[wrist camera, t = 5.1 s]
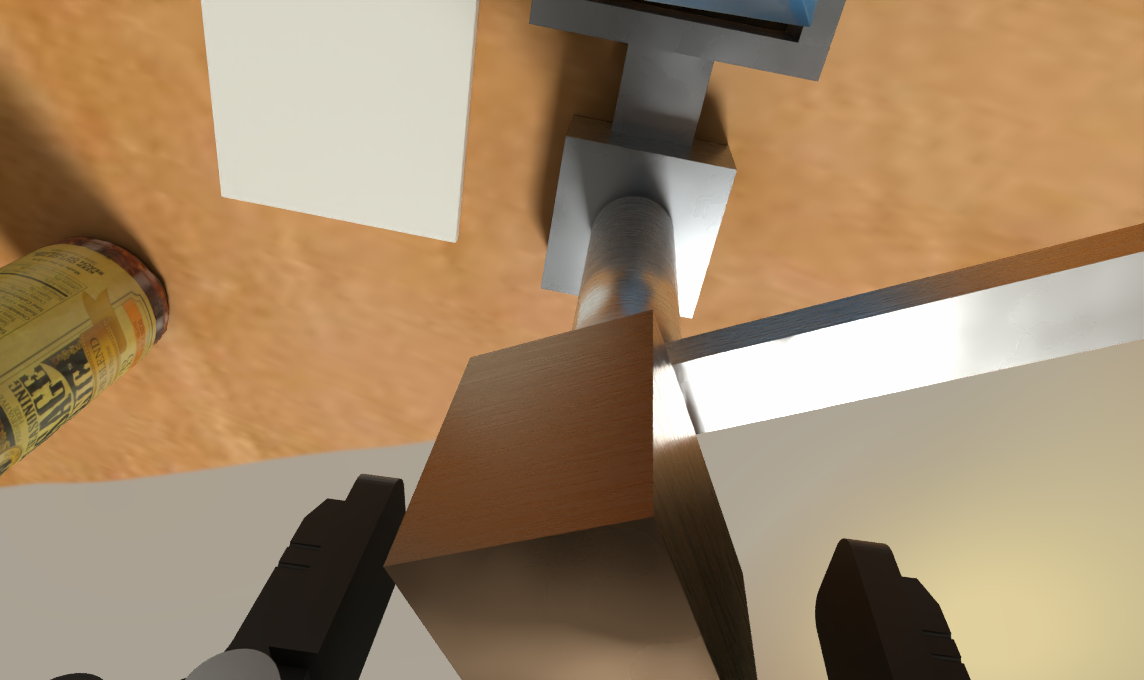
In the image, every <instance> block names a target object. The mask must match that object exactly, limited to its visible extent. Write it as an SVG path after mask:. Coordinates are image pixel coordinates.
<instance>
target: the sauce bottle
mask: <svg viewBox="0 0 1144 680" xmlns="http://www.w3.org/2000/svg"><path fill="white" fill-rule="evenodd" d="M166 298H167V296H166V293H165V289H164V287H163V285H162V284H161V282H160V281H159V279H158V278H157V277H156V276H155V275H154V274H153V273H151V272H150V271H149V269H148V268H147V267H146V266H145V265H144V264H143V263H142V262H141V261H140V260H139V259H138V258H137V257H136V256H135V255H133V254H131V253H129V252H128V251H126V250H125V249H123V248H121V247H120V246H117V245H115V244H112V243H110V242H106V241H103V240H102V241H101V240H98V239H96V238H92V239H91V238H86V237H72V238H65V239H63V240H61V241H60V242H59V243H57V244H55V245H50V246H46V247H43V248H40V249H38V250H36V251H34V252H32V253H30V254H28V255H26V256H24V257H22V258H20V259H18V260H16V261H14V262H12V263H10V264H8V265H6V266H3V267H1V268H0V476H1V475H3V474H4V473H5V472H6V471H7V470H9V469H10V468H11V467H12V466H14V465H15V464H16V463H17V462H19V461H21V460H22V459H23V458H24V457H25V456H26V455H27V454H28V453H30V452H31V451H32V450H34V449H35V448H36V447H37V446H39V445H40V444H41V443H43V442H44V441H45V440H46V439H47V438H49V437H50V436H51V435H52V434H53V433H55V432H56V431H57V430H58V429H59V428H60V427H61V426H62V425H63V424H65V423H66V422H67V421H69V420H70V419H71V418H73V417H74V416H75V415H76V414H77V413H78V412H79V411H81V410H82V409H83V408H84V407H85V406H86V405H88V404H89V403H90V402H91V401H92V400H94V399H95V398H96V397H97V396H98V395H100V394H101V393H102V392H103V391H104V390H106V389H107V388H108V387H109V386H110V385H112V384H113V383H114V382H115V381H116V380H118V379H119V378H120V377H121V376H122V375H124V374H125V373H126V372H127V371H128V370H129V369H131V368H132V367H133V366H134V365H136V364H137V363H138V362H139V361H140V360H142V359H143V358H144V357H145V356H146V355H147V354H148V352H149V351H150V349H151V347H152V346H153V345H154V344H156V343H157V342H158V340H160V338H161V337H162V335H163V334H164V333H165V331H166V330H167V324H168V315H169V313H168V305H167V301H166Z"/></svg>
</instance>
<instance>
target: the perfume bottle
mask: <svg viewBox="0 0 1144 680" xmlns="http://www.w3.org/2000/svg"><path fill="white" fill-rule="evenodd" d="M646 1H652V2H658V3H664V4H671V5H677V6H683V7H689V8H695V9H701V10H707V11H713V12H719V13H726V14H732V15H738V16H744V17H750V18H756V19H762V20H768V21H774V22H781V23H787V24H793V25H799V26H805V27H811V24H812V20H813V17H814V13H815V10H816V7H817V3H818V0H646Z"/></svg>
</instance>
